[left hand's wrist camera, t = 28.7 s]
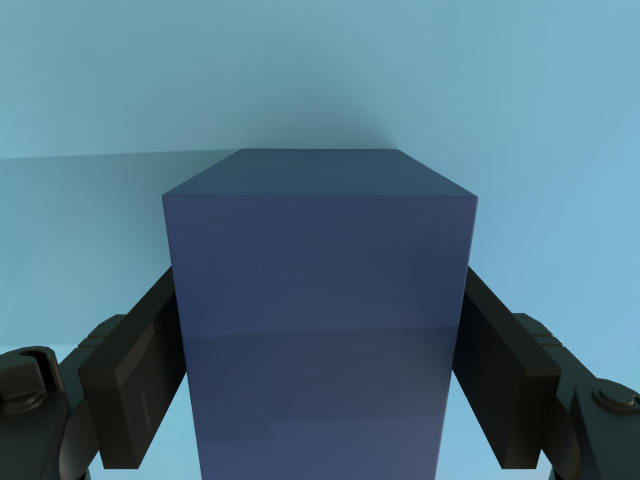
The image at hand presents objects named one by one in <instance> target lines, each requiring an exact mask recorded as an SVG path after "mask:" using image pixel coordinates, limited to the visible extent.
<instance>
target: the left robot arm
mask: <svg viewBox="0 0 640 480" xmlns="http://www.w3.org/2000/svg"><path fill="white" fill-rule="evenodd" d="M452 370H453V372H454V374H455V376H456V378H457V380H458V382H459V384H460V386H461V388H462V390H463V392H464V394H465V396H466V398H467V400H468V402H469V404H470V406H471V408H472V410H473V412H474V414H475V416H476V418H477V420H478V422H479V424H480V426H481V428H482V430H483V432H484V434H485V436H486V438H487V440H488V442H489V444H490V446H491V448H492V450H493V452H494V454H495V456H496V458H497V460H498V462H499V464H500V466H501V468H502V469H536V467H537V463H538V459H539V455H540V452H541V449H542V450H543V452H544V453H545V455H546V457H547V458H548V460H549V461H550V463H551V464H552V469H551V472H550V476H549V479H548V480H640V394H638V393H637V392H636V391H634V390H632V389H630V388H628V387H626V386H624V385H622V384H619V383H616V382H613V381H610V380H607V379H600V378H596V377H595V376H594V375H593V374H592V373H591V372H590V371H589V370H588V369H587V368H586V367H585V366H584V365H583V364H582V363H581V362H580V361H579V360H578V359H577V358H576V357H575V356H574V355H573V354H572V353H571V352H570V351H569V350H568V349H567V348H566V347H563V346H562V343H561V342H560V341H559V340H558V339H557V338H556V337H553V334H552V333H551V332H550V331H549V330H548V329H547V328H546V327H545V326H544V325H543V324H542V323H540V322H539V321H537V320H535V319H533V318H532V317H530V316H528V315H526V314H525V313H511V312H510V311H509V309H508V308H507V307H506V306H505V305H504V304H503V303H502V302H501V301H500V300H499V299H498V297H497V296H496V295H495V294H494V293H493V292H492V291H491V290H490V289H489V288H488V286H487V285H486V284H485V283H484V282H483V281H482V280H481V279H480V278H479V277H478V276H477V274H476V273H475V272H474V271H473V270H472V269H471V268H470V267H469V266H468V269H467V275H466V282H465V288H464V295H463V301H462V308H461V314H460V321H459V327H458V334H457V340H456V347H455V353H454V360H453V366H452ZM186 372H187V370H186V363H185V356H184V349H183V342H182V334H181V327H180V320H179V313H178V306H177V299H176V292H175V285H174V278H173V271H172V266H171V267H170V268H169V269H168V270H167V271H166V272H165V273H164V274H163V276H162V277H161V278H160V279H159V280H158V281H157V282H156V283H155V284H154V285H153V286H152V288H151V289H150V290H149V291H148V292H147V293H146V294H145V295H144V296H143V297H142V299H141V300H140V301H139V302H138V303H137V304H136V305H135V306H134V307H133V308H132V309H131V311H130V312H129V313H128V314H116V315H114V316H113V317H111V318H109V319H107V320H106V321H104V322H102V323H101V324H99V325H98V326H97V327H96V328H95V329H94V330H93V331H92V332H91V333H90V334H89V335H88V337H87V338H85V339H84V340H83V341H82V342H81V343H80V344H79V345H78V348H75V349H74V350H73V351H72V352H71V353H70V354H69V355H68V356H67V357H66V358H65V359H64V360H63V361H62V362H61V363H60V364H59V365H58V362H57V359H56V355H55V352H54V351H53V350H52V349H50V348H49V347H44V346H31V347H23V348H20V349H16V350H13V351H9V352H6V353H4V354H2V355H0V480H91V477H90V472H89V469H88V466H89V465H90V463H91V462H92V460H93V459H94V457H95V455H96V454H97V452H98V451H99V452H100V455H101V459H102V463H103V467H104V469H138V468H139V466H140V464H141V462H142V460H143V458H144V456H145V454H146V452H147V450H148V448H149V446H150V444H151V442H152V440H153V438H154V436H155V434H156V432H157V430H158V428H159V426H160V424H161V422H162V420H163V418H164V416H165V414H166V412H167V410H168V408H169V406H170V404H171V402H172V400H173V398H174V396H175V394H176V392H177V390H178V388H179V386H180V384H181V382H182V380H183V378H184V376H185V374H186Z"/></svg>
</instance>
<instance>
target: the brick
mask: <svg viewBox="0 0 640 480" xmlns="http://www.w3.org/2000/svg"><path fill="white" fill-rule="evenodd" d="M162 200H163V207H164V214H165V221H166V228H167V235H168V243H169V250H170V257H171V264H172V271H173V278H174V285H175V292H176V299H177V306H178V313H179V320H180V327H181V334H182V342H183V349H184V356H185V363H186V370H187V377H188V384H189V391H190V398H191V405H192V412H193V419H194V426H195V433H196V441H197V448H198V455H199V462H200V469H201V476H202V480H435V477H436V470H437V464H438V457H439V451H440V444H441V438H442V431H443V425H444V418H445V412H446V405H447V399H448V392H449V386H450V379H451V373H452V366H453V360H454V353H455V347H456V340H457V334H458V327H459V321H460V314H461V308H462V301H463V295H464V288H465V282H466V275H467V269H468V262H469V256H470V249H471V243H472V236H473V230H474V223H475V217H476V210H477V204H478V197H477V196H476V195H474V194H472V193H471V192H469V191H467V190H465V189H464V188H462V187H460V186H459V185H457V184H455V183H454V182H452V181H450V180H449V179H447V178H445V177H443V176H442V175H440V174H438V173H437V172H435V171H433V170H432V169H430V168H428V167H427V166H425V165H423V164H422V163H420V162H418V161H416V160H415V159H413V158H411V157H410V156H408V155H406V154H405V153H403V152H401V151H400V150H373V149H241V150H239V151H238V152H236V153H234V154H232V155H231V156H229V157H227V158H226V159H224V160H222V161H220V162H219V163H217V164H215V165H213V166H212V167H210V168H208V169H207V170H205V171H203V172H201V173H200V174H198V175H196V176H194V177H193V178H191V179H189V180H187V181H186V182H184V183H182V184H181V185H179V186H177V187H175V188H174V189H172V190H170V191H168V192H167V193H165V194H163V195H162Z"/></svg>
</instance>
